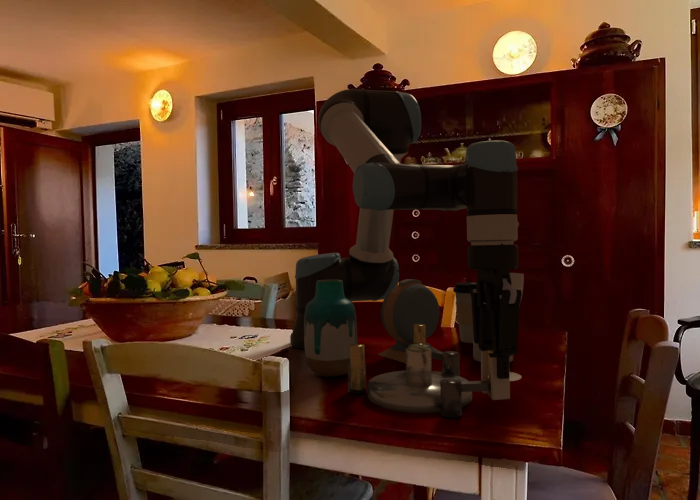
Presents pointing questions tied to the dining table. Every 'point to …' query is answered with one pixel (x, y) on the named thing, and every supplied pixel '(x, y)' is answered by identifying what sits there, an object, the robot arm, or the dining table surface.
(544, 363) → the dining table surface
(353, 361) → the knob
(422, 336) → the crank handle
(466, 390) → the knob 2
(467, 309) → the coffee cup
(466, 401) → the plate
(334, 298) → the vase
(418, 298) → the alarm clock
